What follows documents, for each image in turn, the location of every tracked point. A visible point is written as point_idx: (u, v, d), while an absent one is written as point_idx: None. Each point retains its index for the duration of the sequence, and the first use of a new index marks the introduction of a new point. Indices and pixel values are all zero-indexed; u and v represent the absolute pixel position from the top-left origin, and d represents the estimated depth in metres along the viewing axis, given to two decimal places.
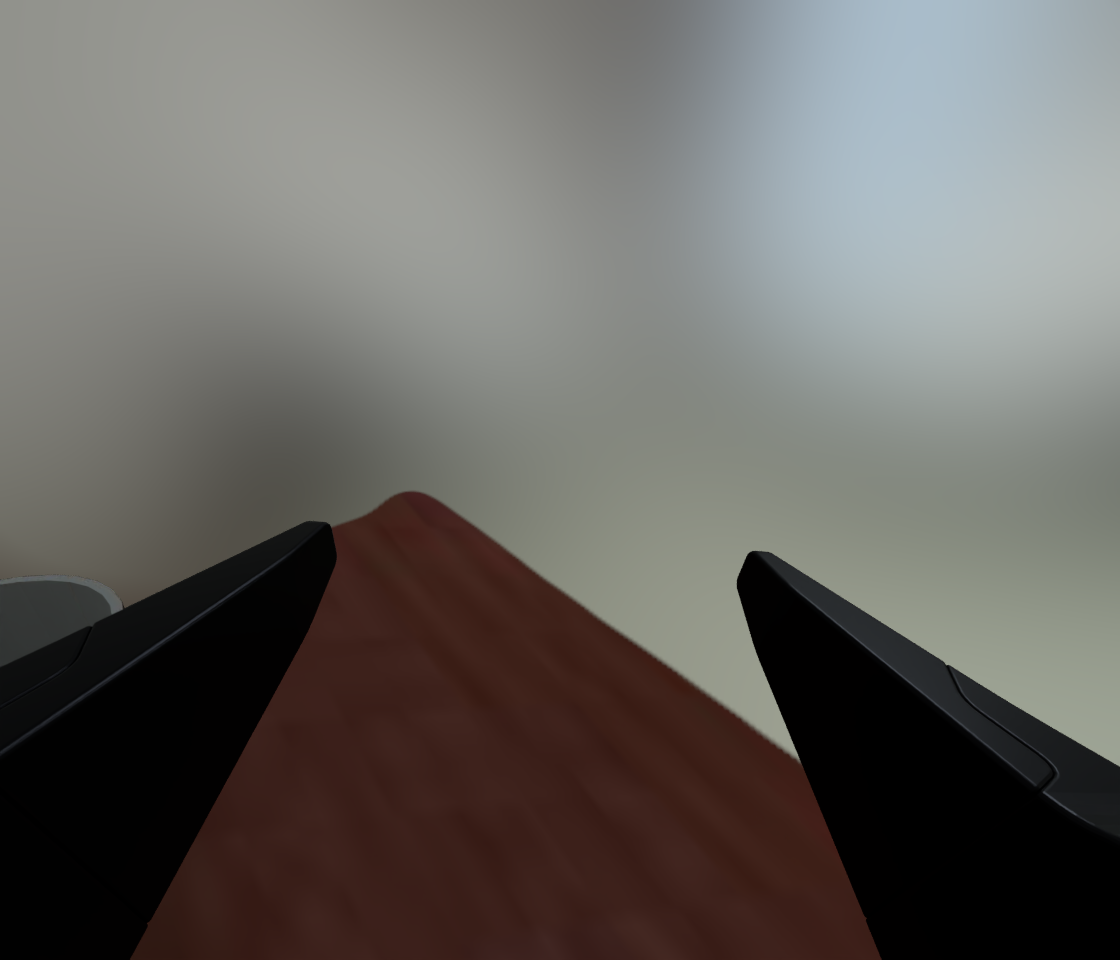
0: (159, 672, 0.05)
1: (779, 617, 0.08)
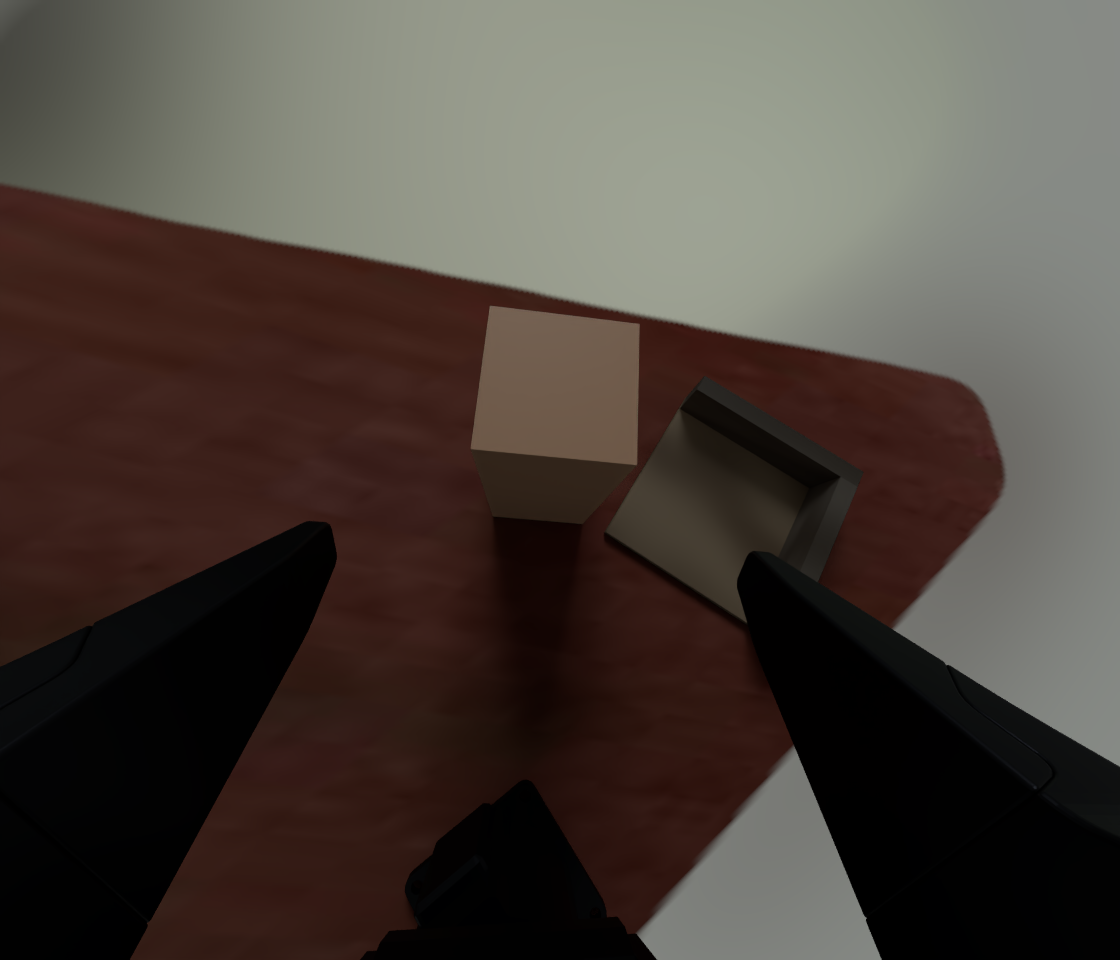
0: (159, 672, 0.05)
1: (779, 617, 0.08)
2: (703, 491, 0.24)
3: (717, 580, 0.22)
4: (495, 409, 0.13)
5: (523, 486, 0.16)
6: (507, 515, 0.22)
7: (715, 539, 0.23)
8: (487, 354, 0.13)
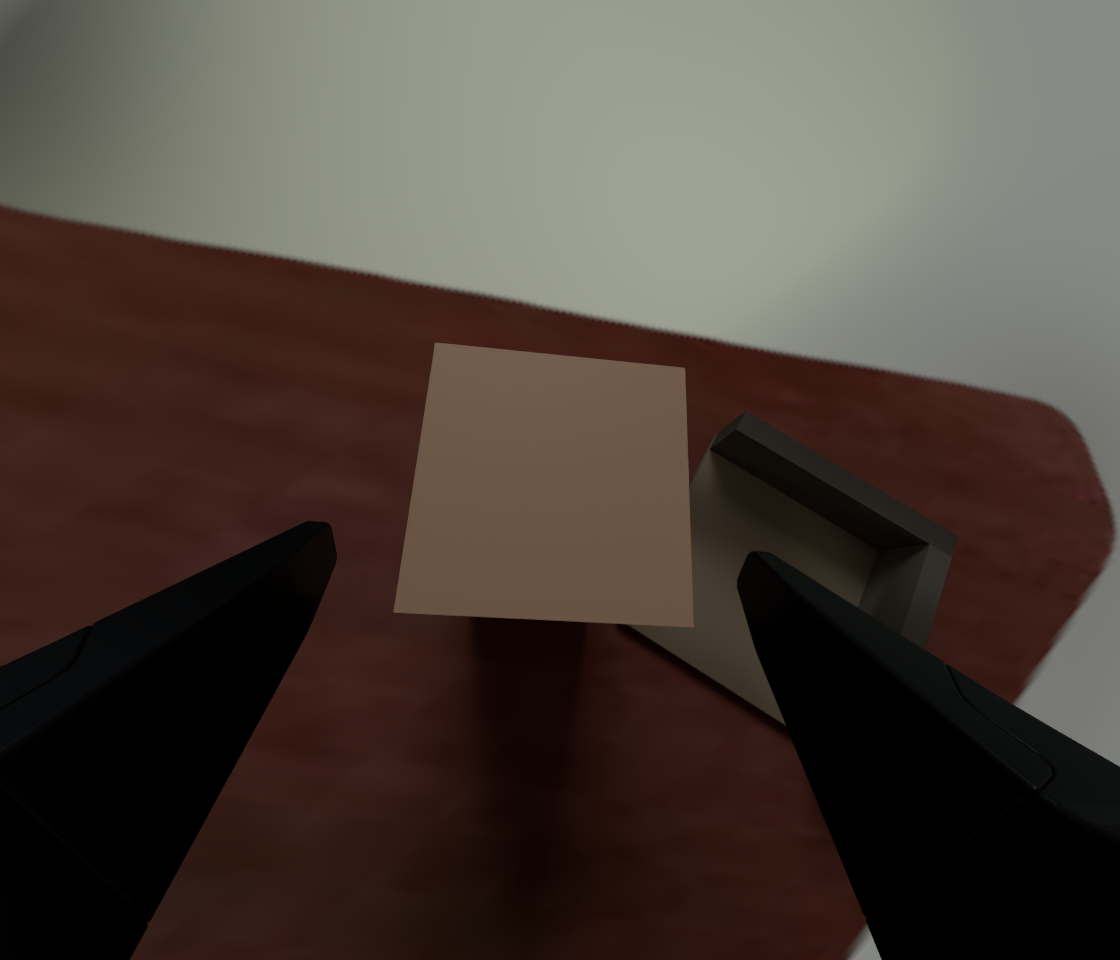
0: (159, 672, 0.05)
1: (779, 617, 0.08)
2: (743, 558, 0.18)
3: (767, 681, 0.17)
4: (440, 532, 0.07)
5: None
6: None
7: None
8: (428, 429, 0.08)
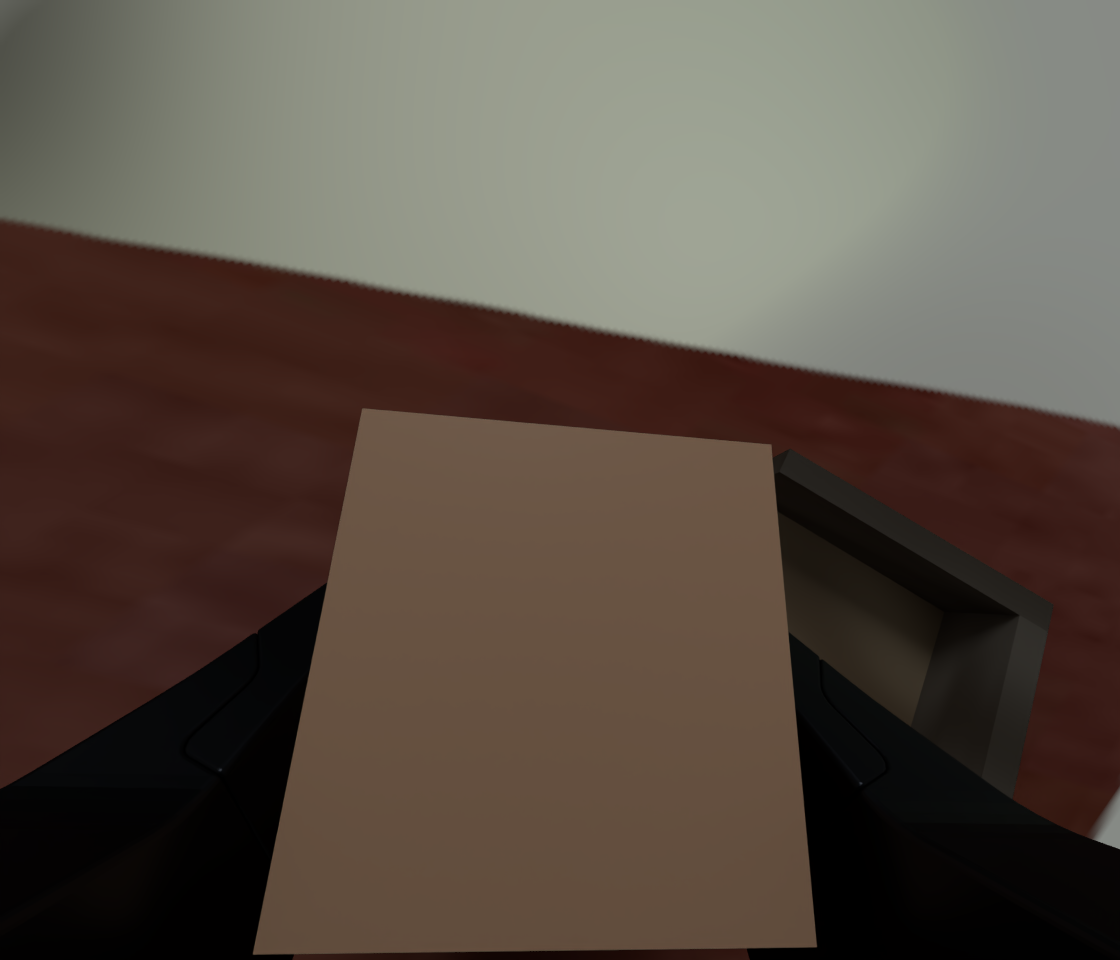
0: None
1: None
2: None
3: None
4: (354, 771, 0.04)
5: None
6: None
7: None
8: (343, 565, 0.04)
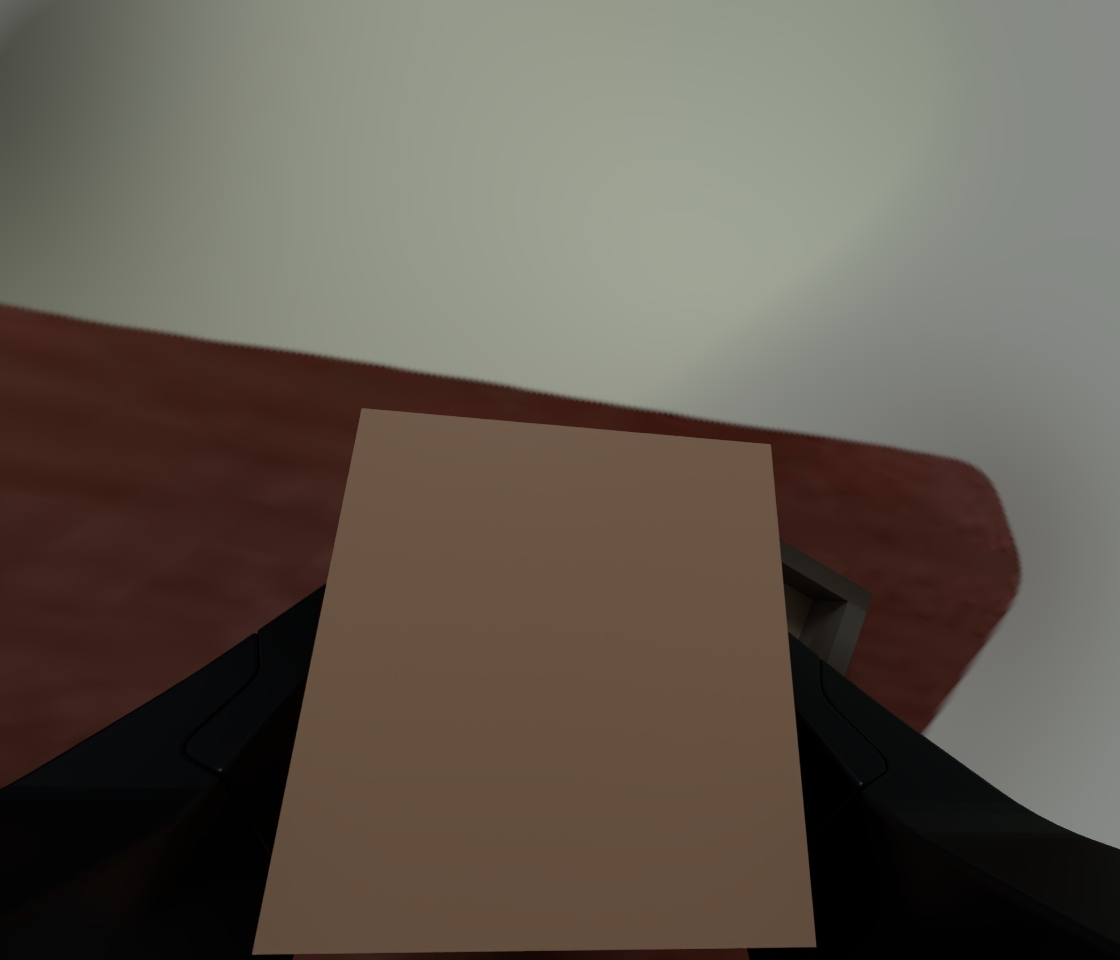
0: None
1: None
2: None
3: None
4: (352, 770, 0.04)
5: None
6: None
7: None
8: (343, 565, 0.04)
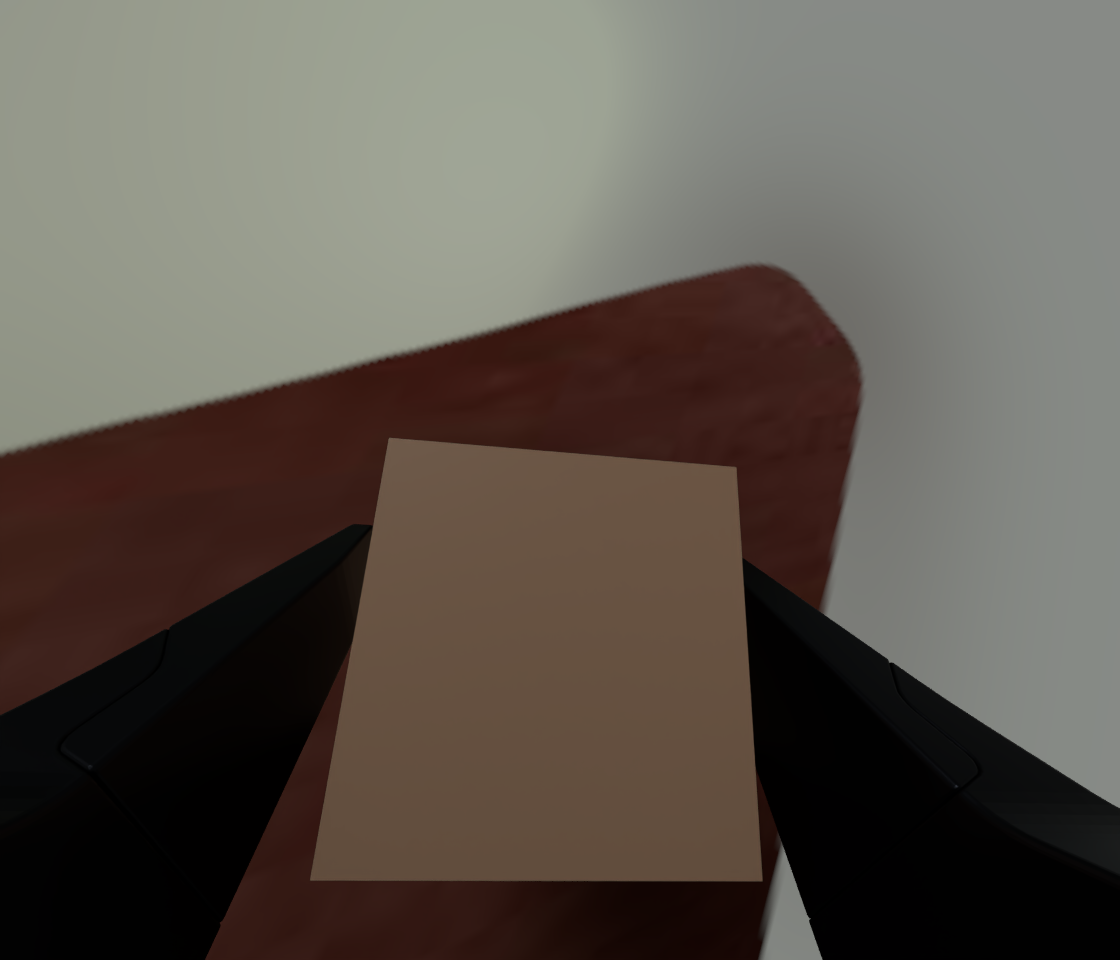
0: (235, 675, 0.05)
1: None
2: None
3: None
4: (386, 738, 0.05)
5: None
6: None
7: None
8: (375, 570, 0.05)
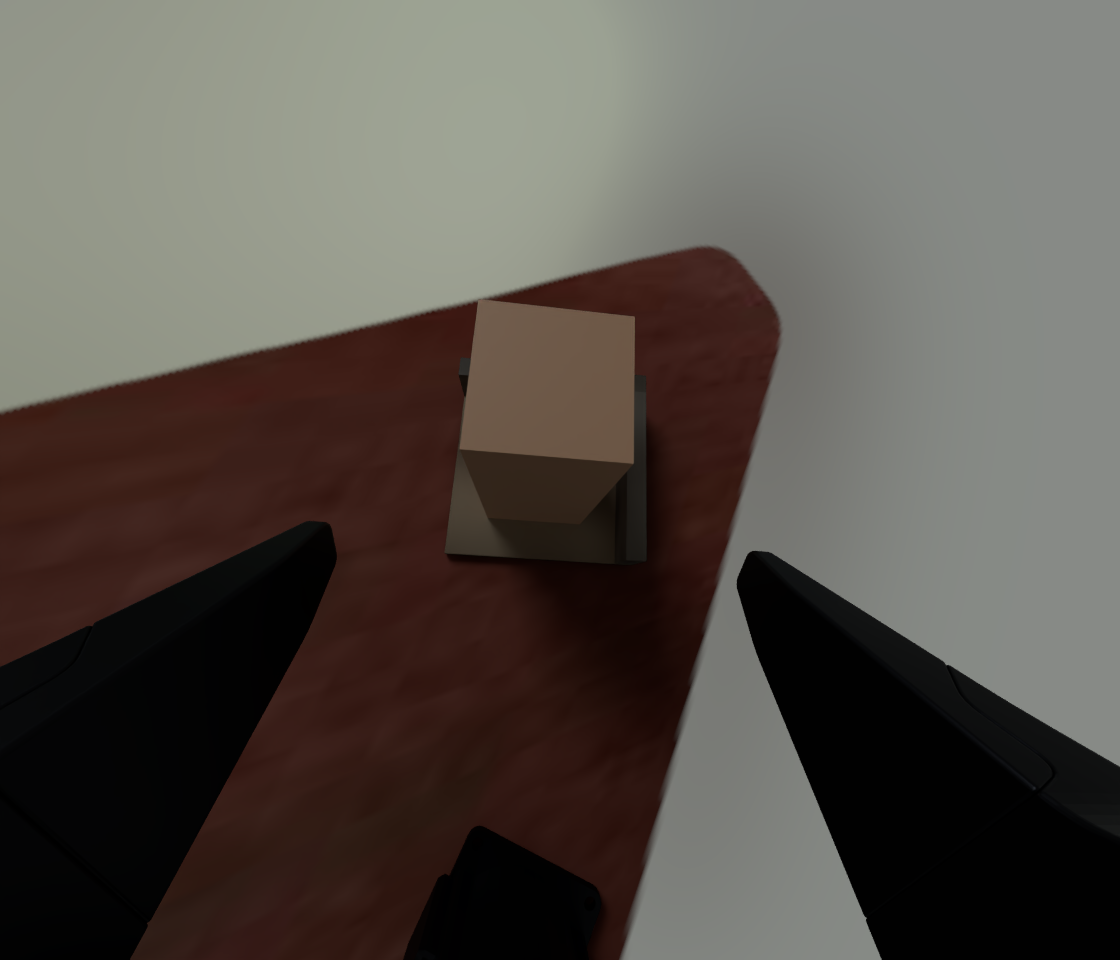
0: (159, 672, 0.05)
1: (779, 617, 0.08)
2: None
3: (570, 540, 0.22)
4: (484, 407, 0.12)
5: (516, 487, 0.15)
6: (502, 516, 0.22)
7: None
8: (476, 350, 0.12)
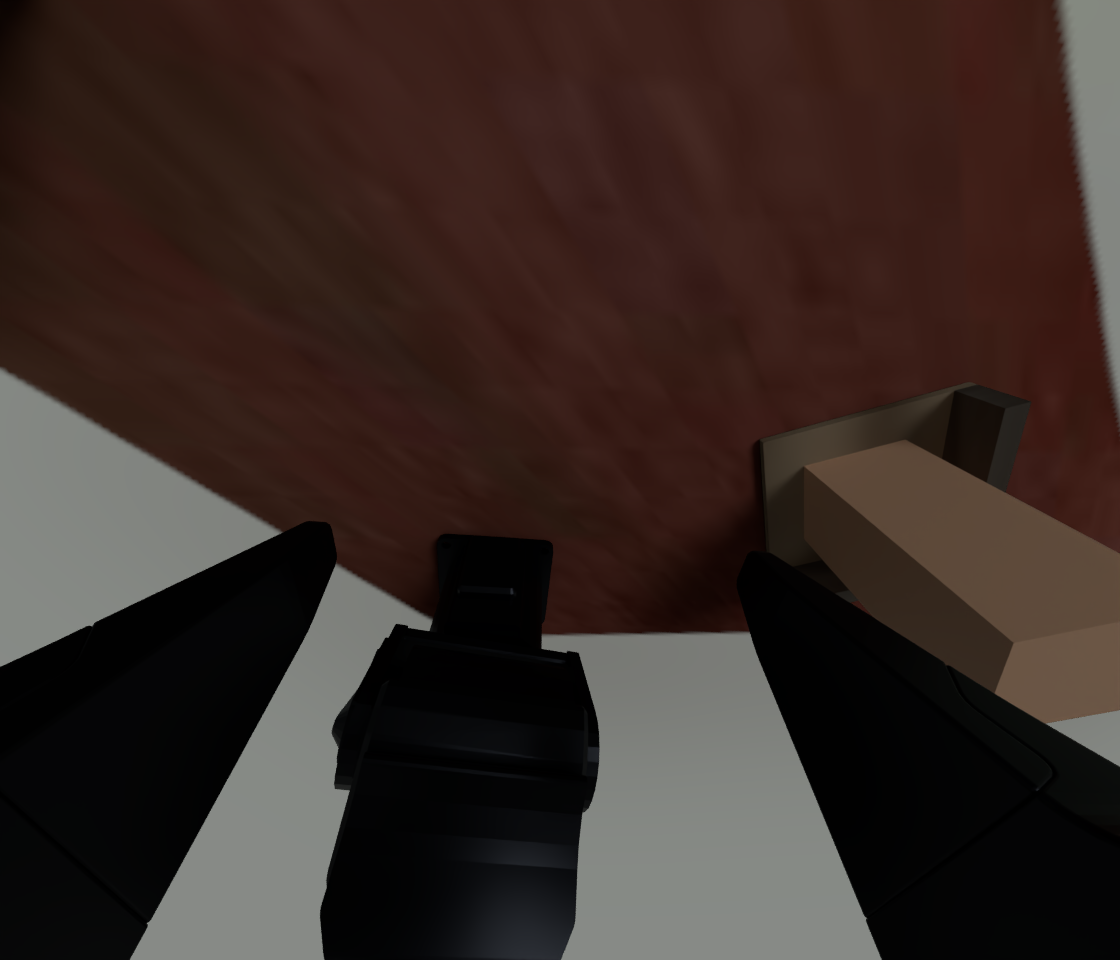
0: (159, 672, 0.05)
1: (779, 617, 0.08)
2: None
3: (788, 536, 0.24)
4: (1059, 645, 0.12)
5: (905, 586, 0.16)
6: (810, 485, 0.21)
7: None
8: None
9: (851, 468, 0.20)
